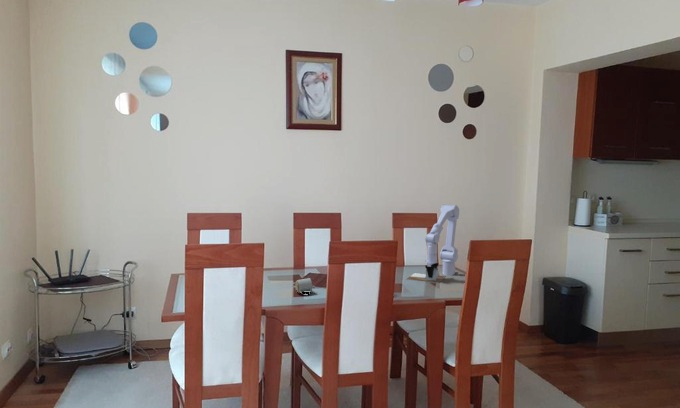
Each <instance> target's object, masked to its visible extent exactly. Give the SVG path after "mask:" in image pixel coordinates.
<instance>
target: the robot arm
mask: <svg viewBox="0 0 680 408" xmlns="http://www.w3.org/2000/svg"><path fill="white" fill-rule="evenodd" d="M439 211H440V215H439V218H438V220H437V222H436V223H434V224H433V226H432V228H431V229H430V232H428V233H427V234H426V235H425V238H424V239H425V243H426V244H425V245H426V260H425V261H424V262H425V263H427V264H426V265H424V266H425V270H426V269H427V272H428V277H429V278H432V277H433V271H434V268H435V269H438V266H439V263H438V243H439V242H440V238H441V233H442V231H443V229H444V227H443V225H444V224H445V222H446V221H447V229H446V236H445V237H446V238H445V245H443V247H441V250H440V252H439V257H440V260H441V261H442V275H443V276H454V275H455V273H456V262H457V260H458V259H459V255H458V248H456V246H455V239H456V230H457V221H458V219H459V215H460V208H459V206H458V205H457V204H456V205H451V204H450V205H449V204H442V205H441V207H440V209H439Z"/></svg>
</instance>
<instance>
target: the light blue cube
mask: <svg viewBox="0 0 680 408" xmlns="http://www.w3.org/2000/svg"><path fill="white" fill-rule="evenodd" d="M425 274H426V280H432V281H436V280H437V279H438V276H439V275H438V274H439V269H438V268H437V269H435V268H434V271H433V277H432V278H429V277H428V272H427V269H426V268H425Z"/></svg>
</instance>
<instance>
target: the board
mask: <svg viewBox="0 0 680 408" xmlns="http://www.w3.org/2000/svg"><path fill="white" fill-rule="evenodd" d="M446 276H447V275H438V279H437V280H436V281H432V280H426V278H417V277H410V276H409V277H407V278H406V279H405V280H407V281H417V282H425V283H426V282H427V283H437V284H440V283H441V282H442V281H443V280H445V278H446Z"/></svg>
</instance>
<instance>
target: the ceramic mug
mask: <svg viewBox="0 0 680 408" xmlns="http://www.w3.org/2000/svg"><path fill="white" fill-rule="evenodd" d="M294 285H295V286H294V287H295V291H296V290H297V292H300V293H302V292H304V291H310V292H311V291H312V292H313V282H312V280H311V278H310V277H308V278H303V279H298V280H296V281H295V284H294ZM297 292H296V293H297ZM310 292H309V293H310ZM312 292H311V293H312ZM300 293H299V294H300Z"/></svg>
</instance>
